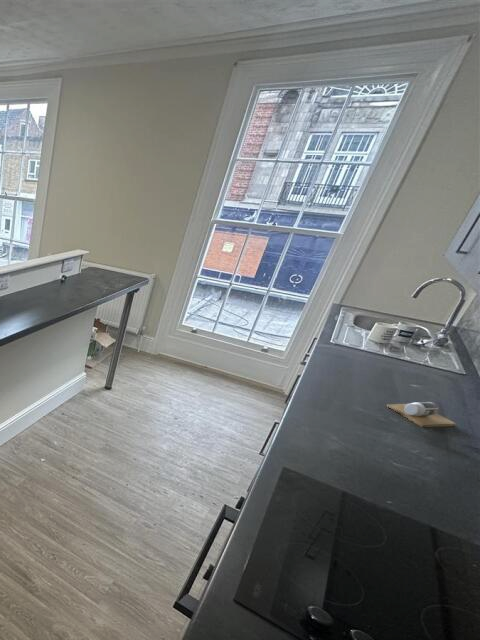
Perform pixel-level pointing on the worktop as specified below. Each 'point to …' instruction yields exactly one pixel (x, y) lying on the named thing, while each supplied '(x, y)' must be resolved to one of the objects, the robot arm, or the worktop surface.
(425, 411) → the pill bottle
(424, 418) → the board
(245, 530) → the worktop surface
